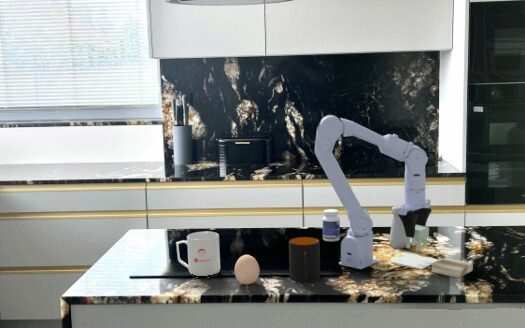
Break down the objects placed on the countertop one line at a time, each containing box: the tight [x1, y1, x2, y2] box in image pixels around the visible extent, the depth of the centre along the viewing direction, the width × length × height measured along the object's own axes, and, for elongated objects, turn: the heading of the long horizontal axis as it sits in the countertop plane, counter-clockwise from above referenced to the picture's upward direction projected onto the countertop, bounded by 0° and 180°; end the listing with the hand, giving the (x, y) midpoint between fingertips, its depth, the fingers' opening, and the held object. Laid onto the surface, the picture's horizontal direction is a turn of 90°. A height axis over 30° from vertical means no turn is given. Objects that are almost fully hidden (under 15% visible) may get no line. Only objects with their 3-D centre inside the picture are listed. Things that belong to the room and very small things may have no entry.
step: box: [431, 257, 474, 279], centre depth 162 cm, size 8×8×2 cm
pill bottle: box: [322, 208, 341, 242], centre depth 198 cm, size 6×6×10 cm
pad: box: [390, 253, 440, 271], centre depth 172 cm, size 10×10×1 cm
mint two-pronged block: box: [404, 225, 430, 252], centre depth 170 cm, size 5×5×6 cm
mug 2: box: [288, 236, 321, 284], centre depth 159 cm, size 8×12×10 cm
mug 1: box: [175, 231, 221, 276], centre depth 167 cm, size 12×9×11 cm
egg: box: [234, 254, 260, 285], centre depth 158 cm, size 7×7×8 cm
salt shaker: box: [388, 205, 406, 249], centre depth 187 cm, size 6×6×13 cm
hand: (415, 234), depth 170 cm, fingers closed on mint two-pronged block, 5 cm apart
